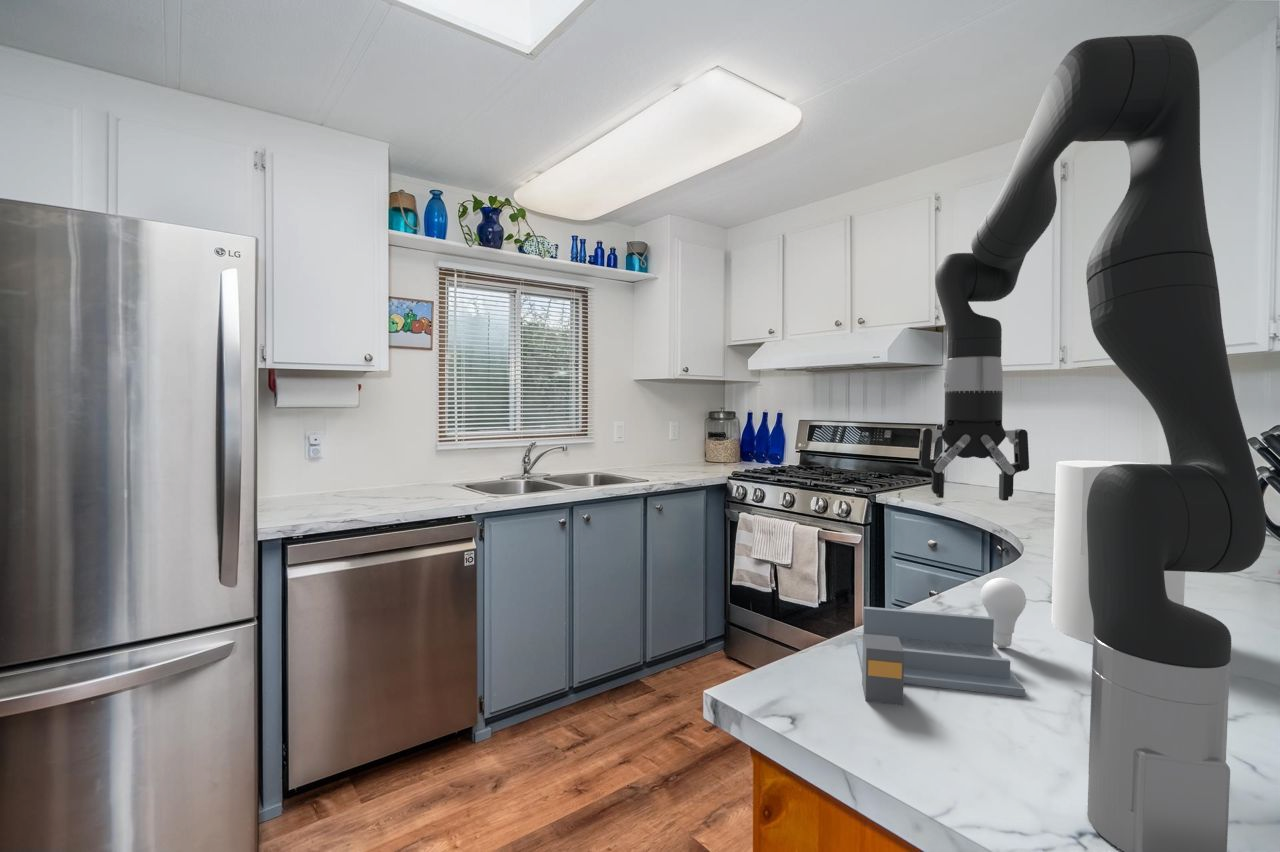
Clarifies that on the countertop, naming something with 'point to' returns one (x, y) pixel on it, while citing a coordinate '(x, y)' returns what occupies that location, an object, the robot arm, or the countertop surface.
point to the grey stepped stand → (940, 665)
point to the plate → (949, 647)
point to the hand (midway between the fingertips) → (971, 498)
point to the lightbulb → (1003, 607)
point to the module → (882, 669)
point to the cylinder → (1081, 550)
